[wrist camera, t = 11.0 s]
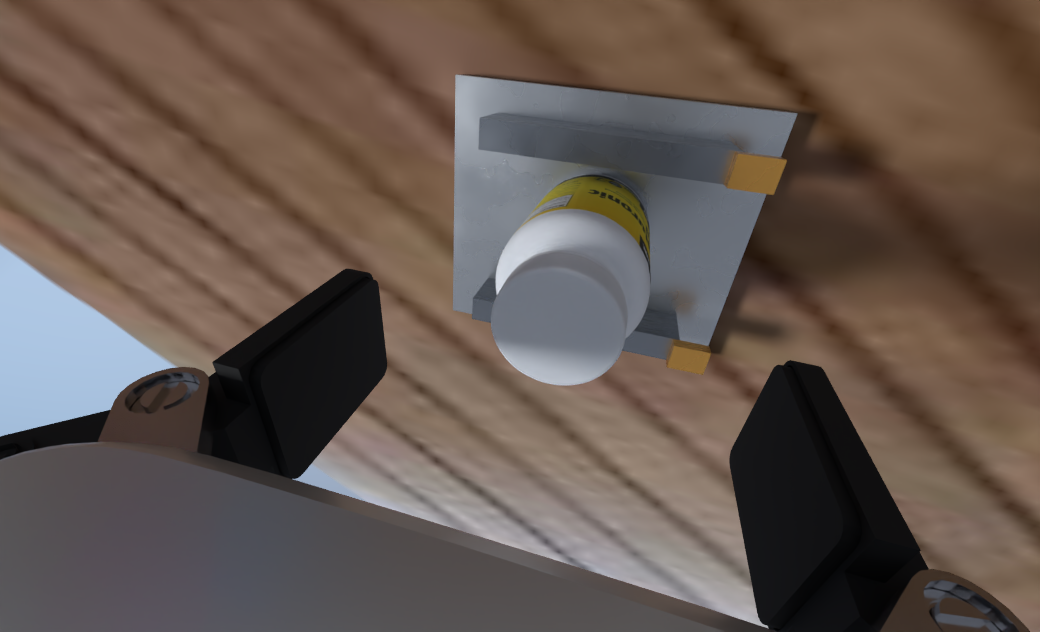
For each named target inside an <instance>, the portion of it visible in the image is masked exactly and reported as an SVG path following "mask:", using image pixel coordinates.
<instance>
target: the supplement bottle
mask: <svg viewBox="0 0 1040 632" xmlns="http://www.w3.org/2000/svg"><path fill="white" fill-rule="evenodd" d="M650 285H651V272H650V228H649V221H648V216H647V213H646V210H645V207H644V205H643V203H642V201H641V200H640V198H639V197H638V195H637V194H636V193H635V192H634V191H633V190H632V189H631V188H630V187H629V186H628V185H626V184H625V183H623V182H621V181H620V180H618V179H616V178H613V177H611V176H607V175H603V174H582V175H578V176H574V177H571V178H569V179H567V180H565V181H563V182H561V183H560V184H558V185H557V186H556V187H554V188H553V189H552V190H551V191H550V192H549V193H548V194H547V195H546V196H545V197H544V198H543V199H542V201H541V202H540V203H539V204H538V205H537V207H536V208H535V209H534V210H533V212H532V213H531V214H530V215H529V216H528V218H527V219H526V220H525V221H524V222H523V224H522V225H521V226H520V227H519V228H518V230H517V231H516V232H515V233H514V234H513V236H512V237H511V238H510V240H509V241H508V243H507V245H506V246H505V248H504V250H503V252H502V254H501V256H500V259H499V262H498V266H497V270H496V293H497V296H496V299H495V301H494V304H493V307H492V312H491V329H492V333H493V337H494V339H495V342H496V344H497V346H498V348H499V350H500V351H501V353H502V354H503V355H504V357H505V358H506V359H507V360H508V361H509V362H510V364H512V365H513V366H514V367H515V368H516V369H518V370H519V371H520V372H522V373H523V374H525V375H527V376H529V377H531V378H533V379H535V380H538V381H541V382H544V383H548V384H553V385H576V384H581V383H586V382H588V381H591V380H593V379H595V378H597V377H599V376H601V375H602V374H604V373H605V372H606V371H607V370H609V369H610V368H611V367H612V366H613V364H614V363H615V362H616V361H617V359H618V357H619V356H620V354H621V351H622V349H623V346H624V343H625V339H626V338H627V337H628V336H629V335H630V334H631V333H632V332H633V331H634V330H635V328H636V327H637V326H638V324H639V323H640V321H641V319H642V318H643V316H644V313H645V311H646V308H647V305H648V301H649V295H650Z"/></svg>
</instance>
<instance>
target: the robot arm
mask: <svg viewBox="0 0 1040 632" xmlns="http://www.w3.org/2000/svg"><path fill="white" fill-rule="evenodd" d="M212 363H213V365H214V368H215V370H216V372H215V373H214V374H212V375H211V376H210V377H208V376H207V375H206V373H205V372H204V371H202V370H199V369H196V368H189V367H179V368H170V369H166V370H162V371H158V372H155V373H152V374H150V375H147V376H145V377H142V378H140V379H139V380H137V381H135V382H133V383H132V384H130V385H129V386H127V387H126V388H125V389H124V390H123V391H122V392H120V394H119V395H118V397H117V398H116V400H115V401H114V403H113V406H112V408H111V410H108V411H104V412H100V413H96V414H91V415H87V416H83V417H79V418H75V419H70V420H66V421H62V422H58V423H54V424H50V425H46V426H41V427H37V428H33V429H29V430H25V431H21V432H17V433H13V434H8V435H4V436H1V437H0V632H1030V631H1029V630H1028V628H1027V627H1026V626H1025V625H1024V624H1023V623H1022V622H1021V621H1020V620H1019V619H1018V618H1017V617H1016V616H1015V615H1014V614H1013V613H1012V612H1011V611H1010V610H1009V609H1008V608H1007V607H1006V606H1005V605H1003V604H1002V603H1001V602H999V601H998V600H997V599H996V598H994V597H993V596H992V595H991V594H989V593H988V592H986V591H985V590H983V589H981V588H980V587H978V586H977V585H975V584H973V583H972V582H970V581H968V580H966V579H964V578H961V577H959V576H957V575H954V574H952V573H950V572H945V571H940V570H935V569H930V570H929V569H928V567H927V565H926V563H925V561H924V559H923V557H922V556H921V554H920V551H921V550H920V548H919V546H918V544H917V543H916V541H915V539H914V537H913V535H912V533H911V531H910V530H909V528H908V526H907V524H906V522H905V520H904V518H903V517H902V515H901V513H900V511H899V509H898V507H897V505H896V504H895V502H894V500H893V498H892V496H891V494H890V492H889V491H888V489H887V487H886V485H885V483H884V481H883V480H882V478H881V476H880V474H879V472H878V470H877V468H876V467H875V465H874V463H873V461H872V459H871V457H870V455H869V454H868V452H867V450H866V448H865V446H864V444H863V442H862V441H861V439H860V437H859V435H858V433H857V431H856V429H855V428H854V426H853V424H852V422H851V420H850V418H849V416H848V415H847V413H846V411H845V409H844V407H843V405H842V403H841V402H840V400H839V398H838V396H837V394H836V392H835V390H834V389H833V387H832V385H831V383H830V381H829V379H828V377H827V376H826V374H825V372H824V370H823V369H822V368H821V367H819V366H815V365H810V364H806V363H801V362H796V361H791V360H790V361H787V362H786V363H785V364H784V366H782V365H776V366H775V367H774V369H773V370H772V372H771V374H770V376H769V378H768V380H767V382H766V384H765V386H764V388H763V390H762V391H761V393H760V395H759V397H758V399H757V401H756V403H755V405H754V407H753V409H752V411H751V413H750V415H749V417H748V418H747V420H746V422H745V424H744V426H743V428H742V430H741V432H740V434H739V436H738V438H737V440H736V442H735V443H734V445H733V447H732V450H731V453H730V469H731V475H732V480H733V485H734V491H735V496H736V501H737V507H738V512H739V517H740V523H741V528H742V533H743V539H744V544H745V549H746V555H747V560H748V565H749V571H750V576H751V582H752V587H753V592H754V598H755V603H756V608H757V613H758V617H759V619H760V621H761V622H762V624H764V625H768V628H769V629H768V628H765V627H762V626H759V625H756V624H753V623H750V622H747V621H744V620H741V619H738V618H735V617H732V616H729V615H726V614H723V613H720V612H717V611H714V610H711V609H708V608H705V607H702V606H698V605H695V604H692V603H689V602H686V601H683V600H680V599H676V598H673V597H670V596H667V595H664V594H661V593H657V592H654V591H651V590H648V589H645V588H642V587H638V586H635V585H632V584H629V583H626V582H623V581H619V580H616V579H613V578H610V577H607V576H604V575H600V574H597V573H594V572H591V571H588V570H585V569H581V568H578V567H575V566H572V565H569V564H566V563H562V562H559V561H556V560H553V559H550V558H546V557H543V556H540V555H537V554H534V553H530V552H527V551H524V550H521V549H517V548H514V547H511V546H508V545H505V544H501V543H498V542H495V541H492V540H489V539H485V538H482V537H479V536H476V535H472V534H469V533H466V532H463V531H459V530H456V529H453V528H450V527H447V526H443V525H440V524H437V523H434V522H430V521H427V520H424V519H421V518H417V517H414V516H411V515H408V514H404V513H401V512H398V511H395V510H391V509H388V508H385V507H382V506H378V505H375V504H372V503H368V502H365V501H362V500H359V499H355V498H352V497H349V496H345V495H342V494H339V493H336V492H332V491H329V490H326V489H322V488H319V487H316V486H312V485H309V484H305V483H302V482H299V481H296V480H293V479H296V478H298V477H300V476H301V475H302V474H303V473H304V472H305V470H306V469H307V468H308V467H309V466H310V465H311V463H312V462H313V461H314V460H315V458H316V457H317V456H318V455H319V454H320V452H321V451H322V450H323V449H324V448H325V446H326V445H327V444H328V443H329V442H330V440H331V439H332V438H333V437H334V436H335V434H336V433H337V432H338V431H339V430H340V428H341V427H342V426H343V425H344V424H345V422H346V421H347V420H348V419H349V418H350V416H351V415H352V414H353V413H354V412H355V410H356V409H357V408H358V407H359V406H360V404H361V403H362V402H363V401H364V400H365V398H366V397H367V396H368V395H369V394H370V392H371V391H372V390H373V389H374V387H375V386H376V385H377V384H378V383H379V381H380V380H381V379H382V378H383V376H384V375H385V372H386V369H387V358H386V349H385V340H384V331H383V322H382V313H381V304H380V295H379V286H378V283H377V281H376V280H373V277H372V275H371V274H370V273H367V272H362V271H357V270H353V269H345V270H343V271H341V272H340V273H339V274H337V275H336V276H334V277H333V278H331V279H330V280H329V281H327V282H326V283H324V284H323V285H321V286H320V287H319V288H317V289H316V290H314V291H313V292H312V293H310V294H309V295H307V296H306V297H304V298H303V299H302V300H300V301H299V302H297V303H296V304H294V305H293V306H292V307H290V308H289V309H287V310H286V311H284V312H283V313H282V314H280V315H279V316H277V317H276V318H275V319H273V320H272V321H270V322H269V323H267V324H266V325H265V326H263V327H262V328H260V329H259V330H257V331H256V332H255V333H253V334H252V335H250V336H249V337H247V338H246V339H245V340H243V341H242V342H240V343H239V344H238V345H236V346H235V347H233V348H232V349H230V350H229V351H228V352H226V353H225V354H223V355H222V356H220V357H219V358H218V359H216V360H215V361H213V362H212Z"/></svg>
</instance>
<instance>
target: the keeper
mask: <svg viewBox="0 0 1040 632" xmlns="http://www.w3.org/2000/svg"><path fill="white" fill-rule="evenodd" d="M796 116H797V113H794V112H790V111H781V110H772V109H763V108H755V107H746V106H737V105H728V104H719V103H711V102H702V101H693V100H684V99H675V98H667V97H658V96H649V95H640V94H631V93H622V92H614V91H605V90H596V89H587V88H578V87H570V86H561V85H552V84H543V83H534V82H526V81H517V80H508V79H499V78H490V77H481V76H473V75H464V74H463V75H456V96H455V187H454V279H453V310H456V311H460V312H465V313H470V314H472V319H475V320H480V321H485V322H490V323H491V312H492V307H493V304H494V301H495V299H496V296H497V293H496V270H497V266H498V262H499V259H500V256H501V254H502V252H503V250H504V248H505V246H506V245H507V243H508V241H509V240H510V238H511V237H512V236H513V234H514V233H515V232H516V231H517V230H518V228H519V227H520V226H521V225H522V224H523V222H524V221H525V220H526V219H527V218H528V216H529V215H530V214H531V213H532V212H533V210H534V209H535V208H536V207H537V205H538V204H539V203H540V202H541V201H542V199H543V198H544V197H545V196H546V195H547V194H548V193H549V192H550V191H551V190H552V189H553V188H554V187H556V186H557V185H558V184H560V183H561V182H563V181H565V180H567V179H569V178H571V177H574V176H578V175H582V174H603V175H607V176H611V177H613V178H616V179H618V180H620V181H621V182H623V183H625V184H626V185H628V186H629V187H630V188H631V189H632V190H633V191H634V192H635V193H636V194H637V195H638V197H639V198H640V200H641V201H642V203H643V205H644V207H645V210H646V213H647V216H648V221H649V228H650V272H651V285H650V295H649V301H648V305H647V308H646V311H645V313H644V316H643V318H642V319H641V321H640V323H639V324H638V326H637V327H636V328H635V330H634V331H633V332H632V333H631V334H630V335H629V336H628V337H627V338H626V339H625V343H624V346H623V349H622V351H627V352H632V353H637V354H641V355H646V356H651V357H655V358H660V359H665V360H666V362H667V367H668V368H673V369H678V370H683V371H687V372H692V373H697V374H701V375H703V373H704V371H705V368H706V365H707V363H708V360H709V358H710V355H711V351H710V347H709V346H708V345H709V343H710V340H711V337H712V335H713V332H714V330H715V327H716V324H717V322H718V319H719V317H720V314H721V311H722V309H723V306H724V304H725V301H726V298H727V296H728V293H729V291H730V288H731V285H732V283H733V280H734V278H735V275H736V272H737V270H738V267H739V265H740V262H741V259H742V257H743V254H744V252H745V249H746V246H747V244H748V241H749V239H750V236H751V233H752V231H753V228H754V226H755V223H756V220H757V218H758V215H759V213H760V210H761V207H762V205H763V202H764V200H765V197H766V194H770V195H774V193H775V190H776V188H777V185H778V183H779V180H780V177H781V175H782V172H783V170H784V167H785V165H786V162H787V160H786V159H785V158H783V157H781V155H782V153H783V150H784V148H785V145H786V142H787V140H788V137H789V135H790V132H791V129H792V127H793V124H794V122H795V119H796Z"/></svg>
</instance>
